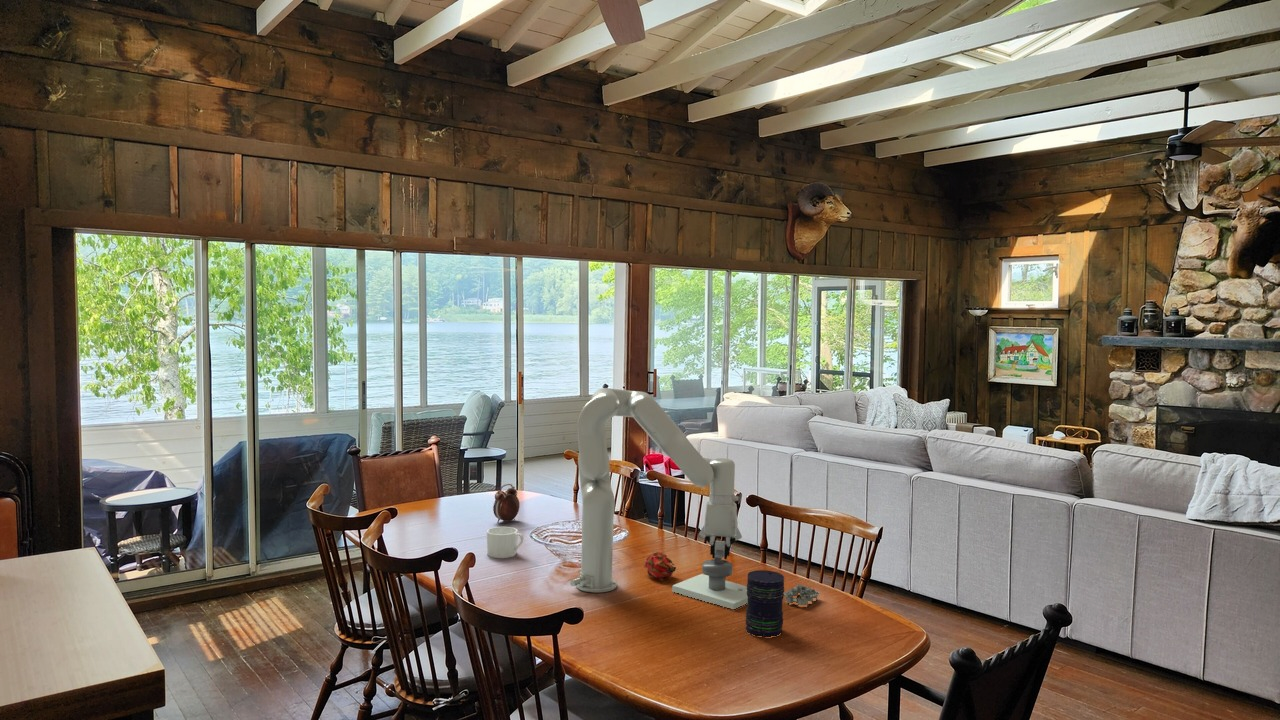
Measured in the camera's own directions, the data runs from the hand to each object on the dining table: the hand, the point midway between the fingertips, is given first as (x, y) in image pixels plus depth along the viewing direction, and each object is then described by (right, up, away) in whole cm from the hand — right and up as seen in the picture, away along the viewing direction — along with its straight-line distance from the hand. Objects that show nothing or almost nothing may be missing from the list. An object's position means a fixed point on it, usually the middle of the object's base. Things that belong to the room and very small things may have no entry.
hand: (719, 557), depth 251 cm
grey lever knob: (-1, -2, -6) cm, 6 cm away
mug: (-71, -6, +26) cm, 75 cm away
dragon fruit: (-18, -8, +6) cm, 21 cm away
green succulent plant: (+23, -11, -12) cm, 28 cm away
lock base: (-2, -9, -8) cm, 13 cm away
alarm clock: (-77, -3, +68) cm, 103 cm away
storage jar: (+8, -11, -35) cm, 38 cm away
